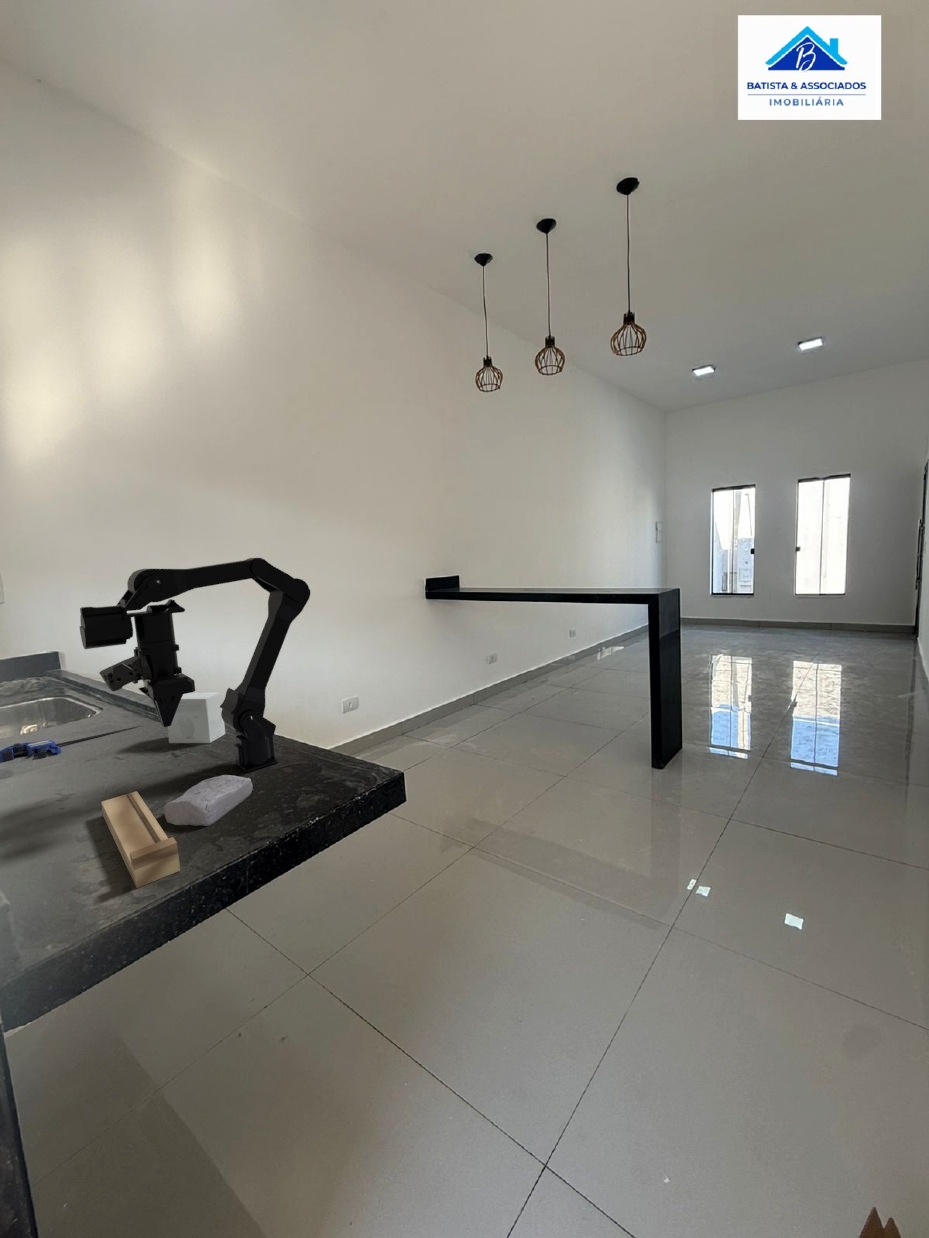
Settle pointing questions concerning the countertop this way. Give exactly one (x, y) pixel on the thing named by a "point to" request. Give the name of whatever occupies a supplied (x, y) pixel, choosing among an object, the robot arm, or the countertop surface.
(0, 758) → the bar clamp
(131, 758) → the countertop surface
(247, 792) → the stone block
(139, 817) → the wooden grooved rail
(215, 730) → the skincare box
